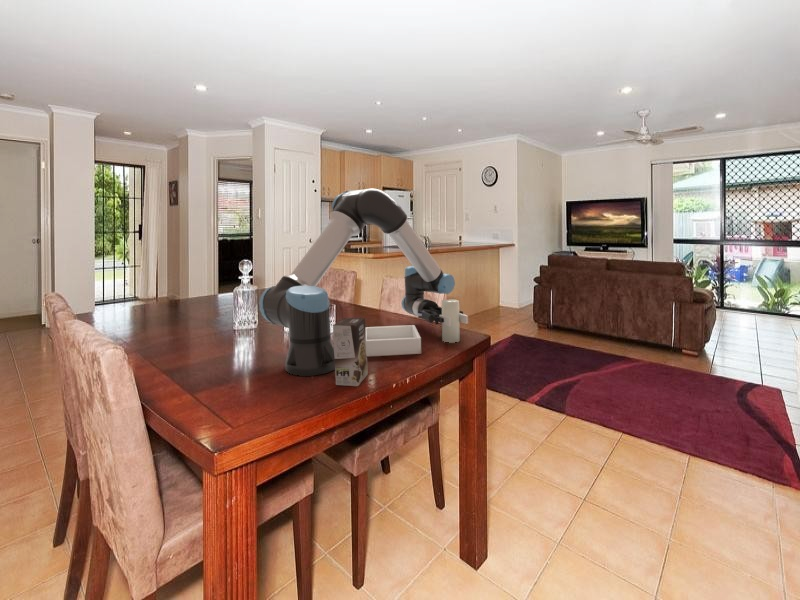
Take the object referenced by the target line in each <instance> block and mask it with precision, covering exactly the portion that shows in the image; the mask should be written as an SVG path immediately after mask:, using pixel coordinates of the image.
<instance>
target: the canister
mask: <svg viewBox="0 0 800 600" xmlns="http://www.w3.org/2000/svg"><path fill="white" fill-rule="evenodd" d="M441 308H442V315H443V316H446V317H449V318H451V326H447V325H444V324H442V323H441V342H443V341H444V342H443V343H445V342H449V343H448V344H456V343H455V342H457V343H459V342H461V341H460V322H459V310H460V300H458V299H443V300H441Z"/></svg>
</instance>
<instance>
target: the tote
mask: <svg viewBox="0 0 800 600" xmlns="http://www.w3.org/2000/svg"><path fill="white" fill-rule="evenodd" d="M365 327H366V326H365ZM366 349H367V357H381V356H400V355H401V356H402V355H416V354H417V355H419V354H422V337H421V335H420V333H419V332H418V329H417V327H416V325H415V324H411V325H409V324H408V325H406V324H405V325H388V326H387V325H386V326H369V327H368V326H367V327H366Z"/></svg>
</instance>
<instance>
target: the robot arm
mask: <svg viewBox="0 0 800 600" xmlns="http://www.w3.org/2000/svg"><path fill="white" fill-rule="evenodd" d="M329 218H330V221H329V223H328V224H327V225H326V227H324V229H323V231H322V232H321V233H320V235H319V236H318V238H317V239H316V240H315V242H314V243H313V244H312V245H311V247H310V248H309V249H308V251H307V252H306V253H305V255H304V256H303V257H302V258H301V260H300V262H299V263H298V264H297V266H295V268H294V269H293V271H292V272H291V273H290V274H289V275H288V274H287V275H282V277H281V278H280V280H279V281H278V282H277V284H275V285H272V286H270V287H268V288H266V289H265V290H264V291H263V292H262V293H261V296H260V297H259V303H258V304H259V305H258V306H259V311H260V314H261V316H262V317H263V318H264V319H265V320H266V321H267V322H269V323H270V324H273V325H275V326H279V327H282V328H283V327H284V328H288V333H289V334H288V335H289V346H288V350H287V355H286V359H285V363H284V365H285V372H286V371H287V372H288V374H289V373H290V374H289V375H292V374H293V375H292V376H297V375H299V377H311V376H318V375H324V374H327V373H330V372H333V371H335V358H334V343H333V342H332V337H331V333H332V332H331V319H330V299H329V294H328V291H326V289H324V288H323V287H320V286H318V284H319V283H320V281H321V280H322V279H323V277H324V276H325V275H326V273H327V271H328V270H329V269H330V267H331V266H332V265H333V264H334V262H335V261H336V259H337V258H338V256H339V255H340V253H341V252H342V251H343V249H344V248H345V246H346V245H347V244H348V242H349V241H350V240H351V238H352V237H357V236H359V235H360V233H361V232H362V230H364V228H365V226H367V225H368V226H370V225H373V226H376V227H378V228H379V229H380V230H381V231H382V232H383V234H385V235H389V237H391V239H392V240H393V242H394V243H395V244H396V246H397V247H398V249H399V250H400V251H401V252H402V254H403V255H404V257H406V259H407V260H408V261H409V263H410V264H411V265H410V266H409V265H408V266H406V267H405V268H404V292H405V294H404V296H403V298H402V300H401V308H402V309H403V311H405V312H406V313H408V314H410V315H413V316H416V317H417V318H418V319H422V320H424V321H426V322H427V323H430V324H432V323H434V324H435V325H440V324H441V325H442V324H444V325H447V326H451V318H449V317H446V316H443V315H442V306H439V305H438V303H437V302H435V301H434V300H431V299H428V298H425V293H433V294H434V293H435V294H443V295H448V294H450V293H452V292H453V290H454V288H455V285H456V284H455V283H456V281H455V278H454V276H453V274H449V273H447V272H446V273H444V271H443V270H442V269H441V268H440V266H439V264H438V263H437V261H436V260H435V258H434V257H433V256H432V254H431V253H430V252H429V250H428V249H427V248H426V246H425V244H424V242H423V241H422V240H421V239H420V237H419V236H418V235H417V233H416V231H415V230H414V229H413V227H412V225H410V223H409V222H408V215H407V214H406V212H405V211H404V210H403V208H402V207H401V206H400V204H399V203H398V202H397V201H396V200H395V199H394V198H393V197H392V196H391V195H389V194H388V193H386V192H384V191H383V190H381V189H377V188H365V189H355V190H346V191H345V192H341V193H339V194H338V195H337V196H336V197H335V198H334V200H333V201H332V205H331V211H330V214H329ZM439 323H440V324H439ZM459 323H463V324H465V325H466V324H468V325H469V315H466V314H465V313H464V311H463V310H460V309H459Z"/></svg>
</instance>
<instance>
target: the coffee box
mask: <svg viewBox="0 0 800 600" xmlns="http://www.w3.org/2000/svg"><path fill="white" fill-rule="evenodd" d="M332 331H333V332H332V336H333V347H334V358H335V370H334V374H335V375H334V376H335V377H334V378H335V386H346V387H347V386H349V387H358V386H360V385H361V383H362V382H363V381H364V380H365V378H366V377H367V376H368V356H367V349H366V317H344V318H342V319H339V321H337V322H336V323H334V324H333V325H332Z"/></svg>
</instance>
